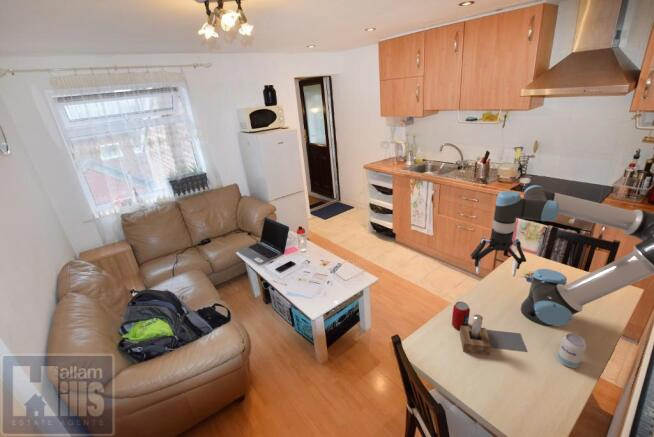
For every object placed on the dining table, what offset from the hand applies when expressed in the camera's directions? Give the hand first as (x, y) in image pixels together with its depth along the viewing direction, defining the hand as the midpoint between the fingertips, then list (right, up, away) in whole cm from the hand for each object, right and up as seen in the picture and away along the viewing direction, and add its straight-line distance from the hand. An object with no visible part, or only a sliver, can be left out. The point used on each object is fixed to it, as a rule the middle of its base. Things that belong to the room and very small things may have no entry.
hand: (495, 273), depth 127 cm
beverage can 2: (+22, -33, -11) cm, 41 cm away
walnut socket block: (-9, -30, 0) cm, 32 cm away
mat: (+5, -29, 0) cm, 29 cm away
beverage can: (-11, -26, +10) cm, 30 cm away
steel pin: (-9, -30, 0) cm, 32 cm away
